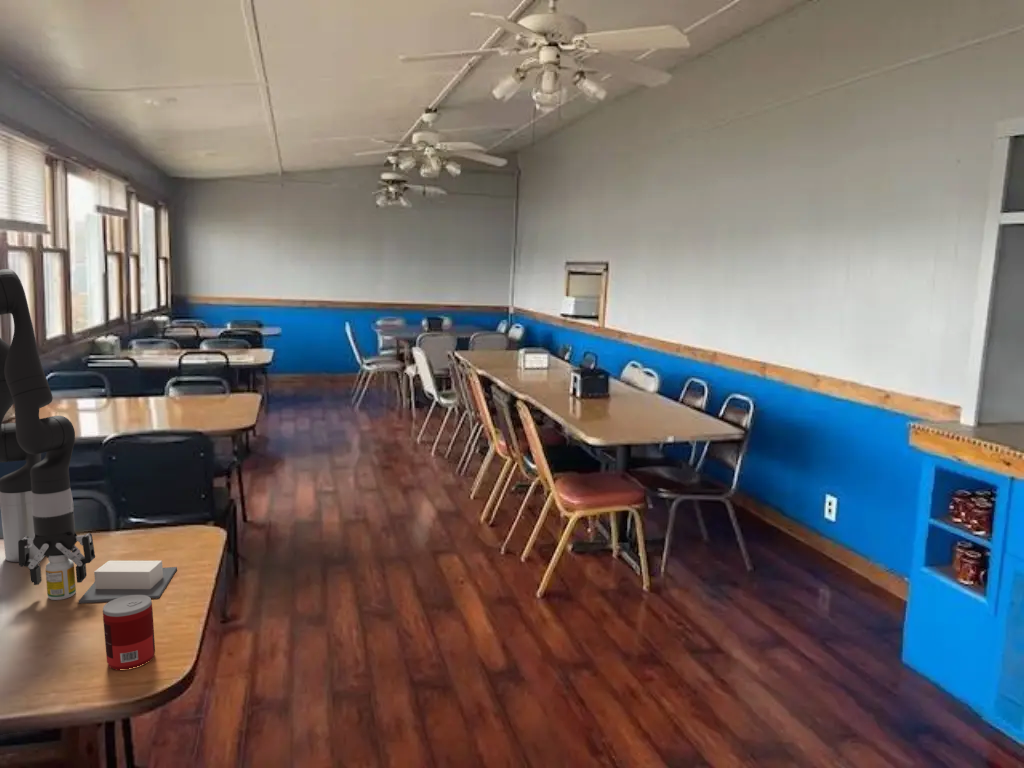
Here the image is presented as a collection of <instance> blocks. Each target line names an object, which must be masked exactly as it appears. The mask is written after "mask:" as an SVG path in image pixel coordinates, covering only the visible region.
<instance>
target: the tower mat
mask: <svg viewBox="0 0 1024 768" xmlns="http://www.w3.org/2000/svg"><path fill="white" fill-rule="evenodd" d="M177 569H178V567H177V566H171V567H163V578H162V579H161V580H160V581H159V582H158V583H157V584H156V585H154V586H153V587H152V588H151V589H96V588H95V581H94V582H93V584H91V586H90V587H88V589H87V591H85V593H84V594H83V595H82V596H81V597H80V599H78V604H90V603H91V604H92V603H108V602H110V601H112V600H114V599H117V598H120V597H124V596H129V595H145V596H148V597H150V598H153V599H160V598H161V596H162V594H163V592H164V591H165V589H166V587H167V586H168V584H169V583H170V582H171V580H172V578H173V577H174V575H175V573H176V572H177Z"/></svg>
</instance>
